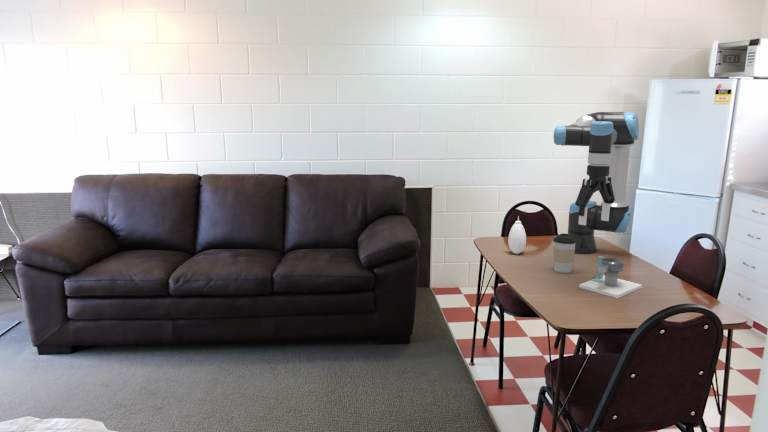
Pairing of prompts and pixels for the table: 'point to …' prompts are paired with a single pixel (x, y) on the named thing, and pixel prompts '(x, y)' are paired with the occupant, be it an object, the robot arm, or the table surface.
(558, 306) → the table surface
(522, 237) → the sauce bottle
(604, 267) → the knob
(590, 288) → the lock base
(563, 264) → the coffee cup
